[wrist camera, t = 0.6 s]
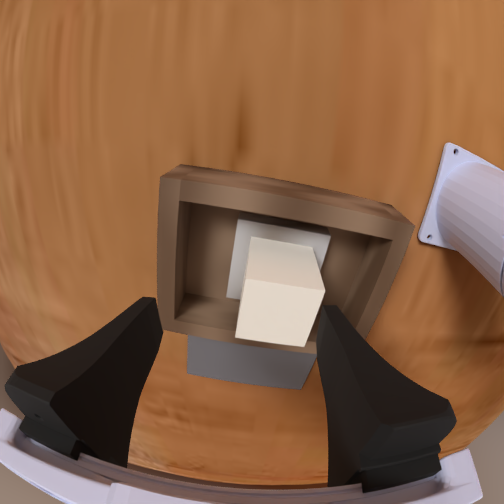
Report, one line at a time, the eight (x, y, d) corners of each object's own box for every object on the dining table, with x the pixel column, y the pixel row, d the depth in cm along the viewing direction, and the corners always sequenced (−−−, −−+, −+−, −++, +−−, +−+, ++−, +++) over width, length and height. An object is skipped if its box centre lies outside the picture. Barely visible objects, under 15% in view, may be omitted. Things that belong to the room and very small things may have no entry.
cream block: (312, 247, 18) (325, 290, 14) (297, 297, 20) (304, 347, 16) (251, 236, 18) (245, 278, 14) (241, 288, 20) (234, 337, 16)
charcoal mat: (324, 335, 24) (325, 337, 24) (300, 387, 28) (300, 389, 28) (189, 314, 24) (188, 316, 24) (187, 371, 28) (187, 373, 27)
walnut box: (391, 205, 19) (415, 225, 15) (345, 324, 24) (355, 356, 20) (180, 164, 18) (160, 176, 15) (172, 297, 23) (158, 328, 20)
